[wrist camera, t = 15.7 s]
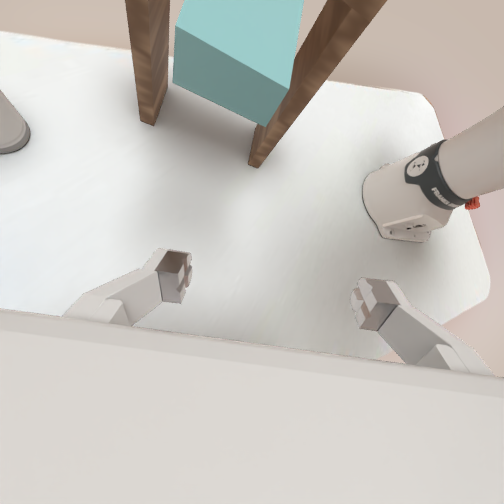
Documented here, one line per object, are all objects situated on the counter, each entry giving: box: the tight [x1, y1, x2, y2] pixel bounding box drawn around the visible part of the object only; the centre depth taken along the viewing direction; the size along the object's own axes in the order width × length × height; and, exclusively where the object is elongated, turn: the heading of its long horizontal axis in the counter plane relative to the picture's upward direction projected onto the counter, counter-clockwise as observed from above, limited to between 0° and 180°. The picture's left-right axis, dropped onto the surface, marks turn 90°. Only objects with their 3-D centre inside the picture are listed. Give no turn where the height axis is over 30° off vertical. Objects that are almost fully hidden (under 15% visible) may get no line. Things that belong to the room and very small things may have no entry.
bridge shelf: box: [125, 0, 387, 168], centre depth 26 cm, size 20×8×28 cm, turn 79°
